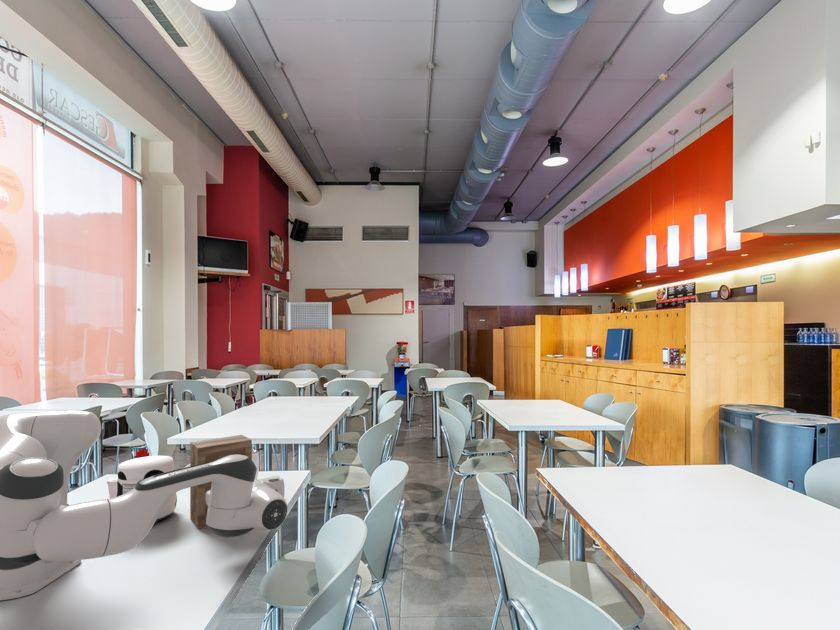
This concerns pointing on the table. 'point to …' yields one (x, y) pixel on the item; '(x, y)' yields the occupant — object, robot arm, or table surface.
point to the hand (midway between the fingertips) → (237, 484)
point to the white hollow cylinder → (255, 461)
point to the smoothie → (112, 486)
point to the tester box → (207, 453)
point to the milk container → (142, 469)
